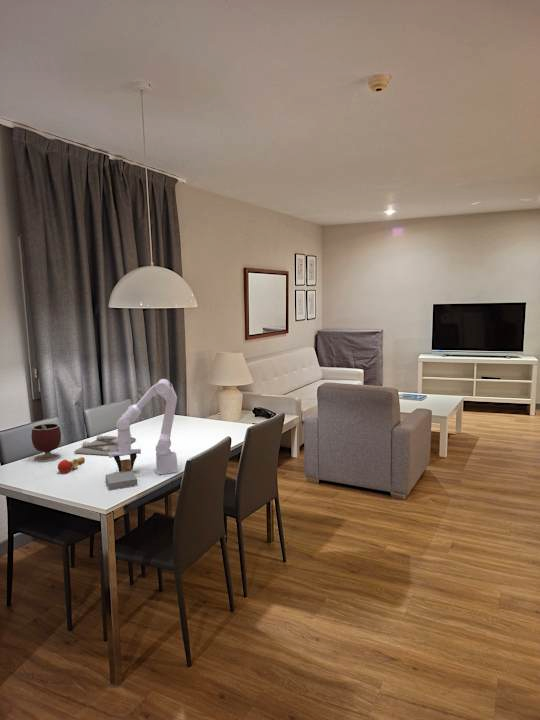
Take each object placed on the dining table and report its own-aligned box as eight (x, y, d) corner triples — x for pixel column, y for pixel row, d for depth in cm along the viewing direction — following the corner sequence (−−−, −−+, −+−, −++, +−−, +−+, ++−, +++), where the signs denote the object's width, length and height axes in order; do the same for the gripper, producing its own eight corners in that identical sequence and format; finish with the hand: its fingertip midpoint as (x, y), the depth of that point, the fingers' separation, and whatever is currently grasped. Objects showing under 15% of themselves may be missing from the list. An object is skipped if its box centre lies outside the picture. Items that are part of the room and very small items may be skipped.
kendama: (73, 464, 255) (52, 471, 237) (76, 452, 255) (54, 458, 237) (87, 468, 253) (66, 475, 235) (89, 456, 253) (69, 462, 235)
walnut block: (129, 471, 240) (129, 458, 240) (131, 473, 236) (131, 461, 235) (120, 472, 238) (119, 460, 238) (121, 475, 234) (121, 463, 234)
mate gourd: (36, 455, 265) (33, 418, 263) (64, 453, 269) (61, 417, 266) (29, 465, 250) (27, 426, 248) (59, 462, 254) (57, 424, 251)
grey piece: (103, 439, 297) (103, 427, 296) (136, 441, 292) (136, 429, 291) (73, 454, 268) (72, 441, 267) (109, 457, 263) (108, 444, 262)
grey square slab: (132, 477, 232) (132, 470, 231) (137, 485, 221) (137, 479, 221) (105, 481, 227) (105, 474, 226) (109, 490, 216) (108, 483, 216)
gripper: (138, 438, 242) (139, 465, 244) (107, 442, 236) (108, 469, 238) (141, 441, 236) (142, 469, 237) (109, 446, 230) (110, 474, 231)
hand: (125, 470), depth 237 cm, fingers open, 5 cm apart
